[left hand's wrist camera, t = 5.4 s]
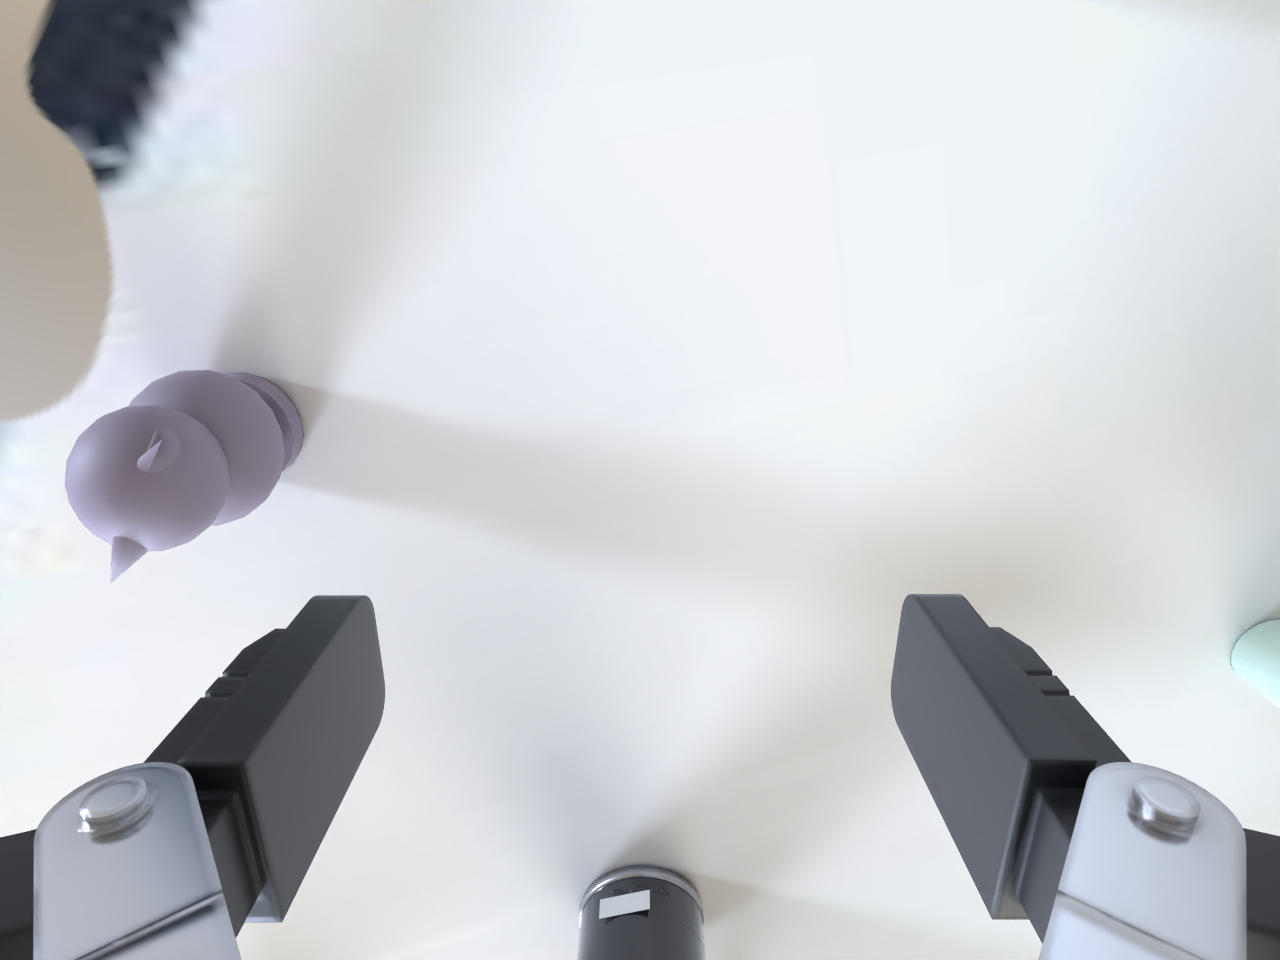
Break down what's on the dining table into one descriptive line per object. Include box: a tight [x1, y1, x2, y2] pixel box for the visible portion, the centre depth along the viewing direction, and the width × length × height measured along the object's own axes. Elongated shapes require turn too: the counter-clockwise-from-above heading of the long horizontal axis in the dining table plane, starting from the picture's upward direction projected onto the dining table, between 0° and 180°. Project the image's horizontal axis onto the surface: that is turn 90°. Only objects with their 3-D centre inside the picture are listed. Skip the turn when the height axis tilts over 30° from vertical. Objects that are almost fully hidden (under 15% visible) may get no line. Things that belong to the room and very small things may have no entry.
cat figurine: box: [65, 370, 303, 583], centre depth 38 cm, size 8×8×12 cm
